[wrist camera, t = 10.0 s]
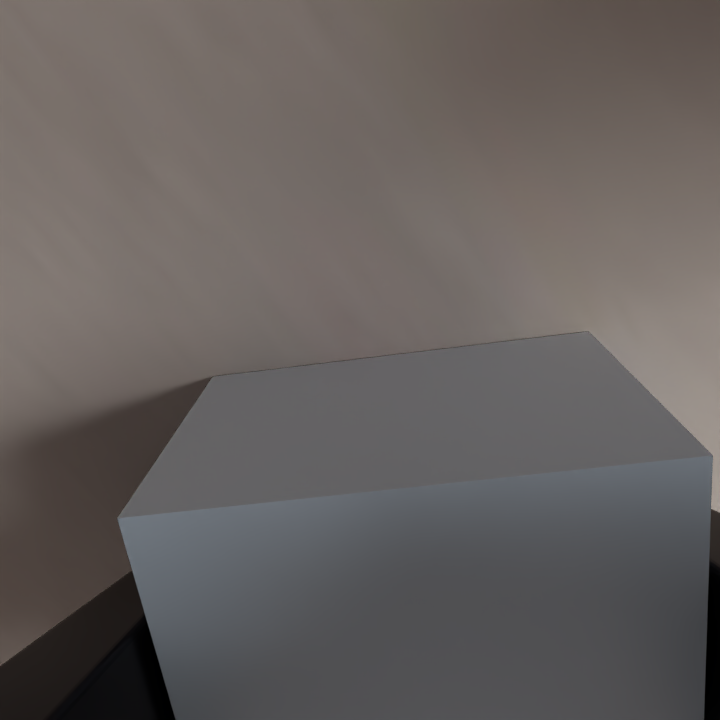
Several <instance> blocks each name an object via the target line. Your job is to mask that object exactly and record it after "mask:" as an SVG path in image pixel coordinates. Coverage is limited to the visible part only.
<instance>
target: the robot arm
mask: <svg viewBox="0 0 720 720" xmlns="http://www.w3.org/2000/svg"><path fill="white" fill-rule="evenodd" d="M0 720H176V719H175V716H174V713H173V709H172V706H171V702H170V699H169V695H168V692H167V688H166V685H165V682H164V678H163V675H162V671H161V668H160V664H159V661H158V657H157V654H156V651H155V647H154V644H153V640H152V637H151V633H150V630H149V627H148V623H147V620H146V616H145V613H144V609H143V606H142V602H141V599H140V596H139V592H138V589H137V585H136V582H135V578H134V575H133V571H131V572H129V573H128V574H127V575H125V576H124V577H122V578H121V579H120V580H118V581H117V582H116V583H114V584H113V585H111V586H110V587H109V588H107V589H106V590H105V591H103V592H102V593H100V594H99V595H98V596H96V597H95V598H93V599H92V600H91V601H89V602H88V603H87V604H85V605H84V606H82V607H81V608H80V609H78V610H77V611H75V612H74V613H73V614H71V615H70V616H69V617H67V618H66V619H64V620H63V621H62V622H60V623H59V624H58V625H56V626H55V627H53V628H52V629H51V630H49V631H48V632H46V633H45V634H44V635H42V636H41V637H40V638H38V639H37V640H35V641H34V642H33V643H31V644H30V645H29V646H27V647H26V648H24V649H23V650H22V651H20V652H19V653H17V654H16V655H15V656H13V657H12V658H11V659H9V660H8V661H6V662H5V663H4V664H2V665H1V666H0ZM704 720H720V513H719V512H717V511H714V510H712V509H711V522H710V553H709V583H708V613H707V644H706V674H705V704H704Z"/></svg>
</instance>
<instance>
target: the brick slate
mask: <svg viewBox="0 0 720 720" xmlns="http://www.w3.org/2000/svg"><path fill="white" fill-rule="evenodd" d="M712 462H713V455H712V454H711V453H710V452H709V451H708V450H707V449H706V448H705V447H704V446H703V445H702V444H701V443H700V442H699V441H698V440H697V439H696V438H695V437H694V436H693V435H692V434H691V433H690V432H689V431H688V430H687V429H686V428H685V427H684V426H683V425H682V424H681V423H680V422H679V421H678V420H677V419H676V418H675V417H674V416H673V415H672V414H671V413H670V412H669V411H668V410H667V409H666V408H665V407H664V406H663V405H662V404H661V403H660V402H659V401H658V400H657V399H656V398H655V397H654V396H653V395H652V394H651V393H650V392H649V391H648V390H647V389H646V388H645V387H644V386H643V385H642V384H641V383H640V382H639V381H638V380H637V379H636V378H635V377H634V376H633V375H632V374H631V373H630V372H629V371H628V370H627V369H626V368H625V367H624V366H623V365H622V364H621V363H620V362H619V361H618V360H617V359H616V358H615V357H614V356H613V355H612V354H611V353H610V352H609V351H608V350H607V349H606V348H605V347H604V346H603V345H602V344H601V343H600V342H599V341H598V340H597V339H596V338H595V337H594V336H593V335H592V334H591V333H590V332H589V331H588V332H580V333H571V334H563V335H555V336H546V337H538V338H530V339H521V340H513V341H505V342H497V343H488V344H480V345H472V346H463V347H455V348H447V349H438V350H430V351H422V352H413V353H405V354H397V355H388V356H380V357H372V358H363V359H355V360H347V361H339V362H330V363H322V364H314V365H305V366H297V367H289V368H280V369H272V370H264V371H255V372H247V373H239V374H230V375H222V376H214V377H212V378H211V380H210V381H209V383H208V384H207V386H206V387H205V389H204V390H203V392H202V393H201V395H200V396H199V398H198V399H197V401H196V402H195V404H194V405H193V407H192V408H191V410H190V411H189V413H188V414H187V415H186V417H185V418H184V420H183V421H182V423H181V424H180V426H179V427H178V429H177V430H176V432H175V433H174V435H173V436H172V438H171V439H170V441H169V442H168V444H167V445H166V447H165V448H164V450H163V451H162V453H161V454H160V456H159V457H158V458H157V460H156V461H155V463H154V464H153V466H152V467H151V469H150V470H149V472H148V473H147V475H146V476H145V478H144V479H143V481H142V482H141V484H140V485H139V487H138V488H137V490H136V491H135V493H134V494H133V496H132V497H131V499H130V500H129V501H128V503H127V504H126V506H125V507H124V509H123V510H122V512H121V513H120V515H119V516H118V518H117V520H118V523H119V527H120V530H121V534H122V537H123V540H124V544H125V547H126V551H127V554H128V558H129V561H130V565H131V568H132V571H133V575H134V578H135V582H136V585H137V589H138V592H139V596H140V599H141V602H142V606H143V609H144V613H145V616H146V620H147V623H148V627H149V630H150V633H151V637H152V640H153V644H154V647H155V651H156V654H157V657H158V661H159V664H160V668H161V671H162V675H163V678H164V682H165V685H166V688H167V692H168V695H169V699H170V702H171V706H172V709H173V713H174V716H175V719H176V720H704V704H705V674H706V644H707V613H708V583H709V553H710V522H711V492H712Z"/></svg>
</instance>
